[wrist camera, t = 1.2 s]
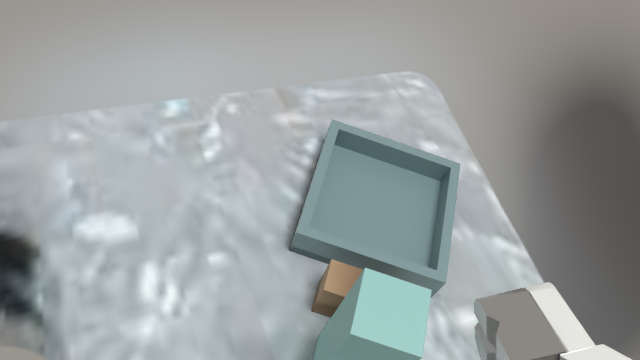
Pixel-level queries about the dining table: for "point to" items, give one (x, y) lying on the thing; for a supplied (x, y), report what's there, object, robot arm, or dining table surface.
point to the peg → (377, 321)
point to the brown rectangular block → (334, 287)
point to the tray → (379, 207)
